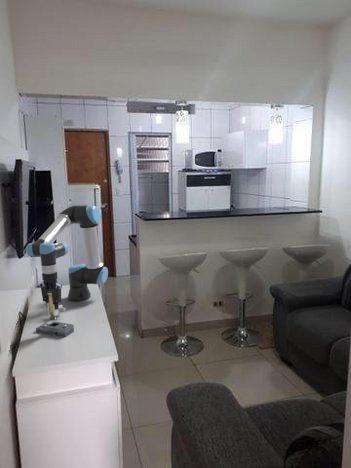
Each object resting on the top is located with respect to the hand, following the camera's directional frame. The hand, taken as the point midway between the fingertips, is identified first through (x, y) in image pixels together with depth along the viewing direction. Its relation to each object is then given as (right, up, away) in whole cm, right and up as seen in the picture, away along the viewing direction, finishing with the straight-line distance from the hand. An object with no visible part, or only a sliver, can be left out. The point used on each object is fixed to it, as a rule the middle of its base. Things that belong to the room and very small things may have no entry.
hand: (53, 314), depth 192 cm
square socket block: (0, -10, +2) cm, 10 cm away
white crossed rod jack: (-5, -7, +22) cm, 24 cm away
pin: (0, -3, 0) cm, 3 cm away
